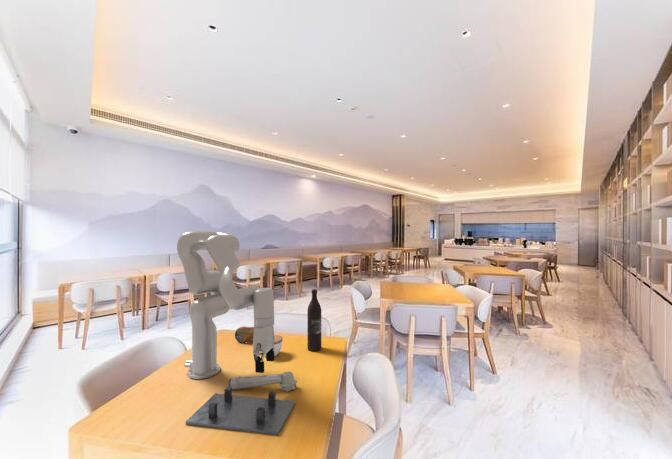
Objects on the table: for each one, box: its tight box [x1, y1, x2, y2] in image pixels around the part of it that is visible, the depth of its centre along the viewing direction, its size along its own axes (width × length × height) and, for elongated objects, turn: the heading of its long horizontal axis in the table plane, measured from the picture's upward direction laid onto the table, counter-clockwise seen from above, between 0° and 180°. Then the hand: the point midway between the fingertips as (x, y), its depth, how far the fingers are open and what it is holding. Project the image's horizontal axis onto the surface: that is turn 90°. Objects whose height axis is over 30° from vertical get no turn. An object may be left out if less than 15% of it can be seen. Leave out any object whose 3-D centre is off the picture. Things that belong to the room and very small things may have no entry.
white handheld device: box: [228, 370, 298, 392], centre depth 112 cm, size 5×7×25 cm
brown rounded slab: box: [234, 326, 254, 344], centre depth 159 cm, size 15×3×8 cm, turn 81°
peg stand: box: [185, 386, 296, 437], centre depth 96 cm, size 30×16×5 cm, turn 80°
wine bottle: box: [307, 288, 322, 352], centre depth 150 cm, size 7×7×30 cm
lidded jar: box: [264, 334, 283, 357], centre depth 143 cm, size 11×11×9 cm
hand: (265, 366), depth 112 cm, fingers open, 9 cm apart
